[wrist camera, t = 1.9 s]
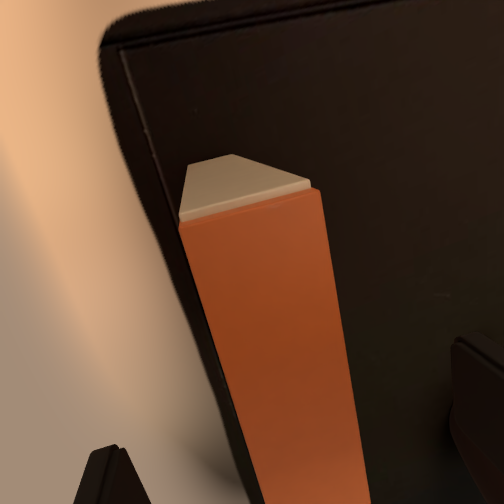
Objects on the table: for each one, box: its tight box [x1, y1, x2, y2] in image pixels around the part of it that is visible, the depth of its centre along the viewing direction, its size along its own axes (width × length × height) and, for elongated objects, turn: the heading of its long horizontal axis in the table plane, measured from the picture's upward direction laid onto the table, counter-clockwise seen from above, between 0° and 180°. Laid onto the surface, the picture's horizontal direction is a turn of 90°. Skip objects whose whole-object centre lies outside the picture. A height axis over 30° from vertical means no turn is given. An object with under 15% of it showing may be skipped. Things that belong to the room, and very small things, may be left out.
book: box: [178, 154, 371, 504], centre depth 16 cm, size 3×12×16 cm, turn 13°
